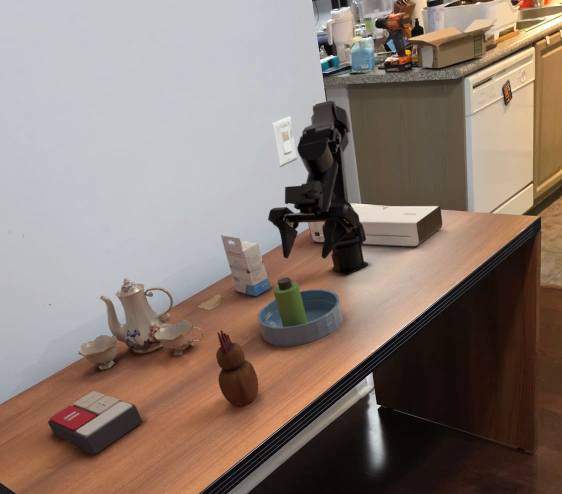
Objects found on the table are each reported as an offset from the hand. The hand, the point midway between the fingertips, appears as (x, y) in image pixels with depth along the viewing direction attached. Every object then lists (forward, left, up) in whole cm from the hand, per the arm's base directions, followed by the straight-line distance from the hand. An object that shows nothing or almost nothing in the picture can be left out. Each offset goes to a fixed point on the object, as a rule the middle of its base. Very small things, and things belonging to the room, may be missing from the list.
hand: (304, 257), depth 131 cm
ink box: (+1, -28, -14) cm, 31 cm away
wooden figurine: (+26, +17, -14) cm, 34 cm away
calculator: (+50, +2, -14) cm, 52 cm away
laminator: (-35, -28, -14) cm, 47 cm away
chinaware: (+32, -21, -14) cm, 41 cm away
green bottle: (+7, +4, -13) cm, 15 cm away
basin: (+4, +1, -14) cm, 14 cm away
